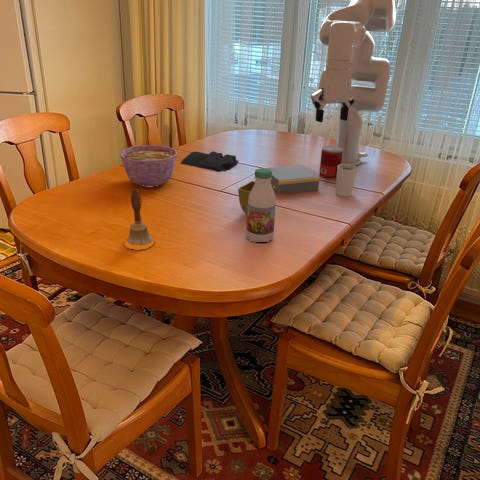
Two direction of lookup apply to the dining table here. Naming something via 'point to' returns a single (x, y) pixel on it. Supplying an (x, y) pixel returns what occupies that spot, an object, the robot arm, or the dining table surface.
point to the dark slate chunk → (211, 161)
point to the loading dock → (293, 179)
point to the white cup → (345, 179)
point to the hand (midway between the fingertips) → (331, 120)
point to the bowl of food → (149, 164)
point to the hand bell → (138, 223)
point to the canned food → (330, 161)
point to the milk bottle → (261, 208)
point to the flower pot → (246, 195)
